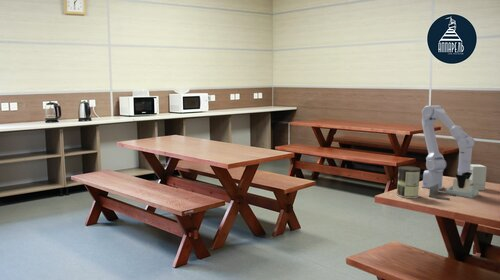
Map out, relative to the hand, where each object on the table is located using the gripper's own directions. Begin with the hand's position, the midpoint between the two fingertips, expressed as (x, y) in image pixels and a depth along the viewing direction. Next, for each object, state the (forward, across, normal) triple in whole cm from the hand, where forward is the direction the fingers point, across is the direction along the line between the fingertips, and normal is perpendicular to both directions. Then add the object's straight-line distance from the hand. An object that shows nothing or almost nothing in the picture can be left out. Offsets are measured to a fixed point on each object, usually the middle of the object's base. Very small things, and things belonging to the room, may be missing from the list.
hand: (462, 187), depth 250 cm
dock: (+4, -12, +6) cm, 14 cm away
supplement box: (+4, +19, -2) cm, 19 cm away
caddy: (+3, 0, 0) cm, 3 cm away
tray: (+4, 0, 0) cm, 4 cm away
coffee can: (+4, -23, +20) cm, 30 cm away
